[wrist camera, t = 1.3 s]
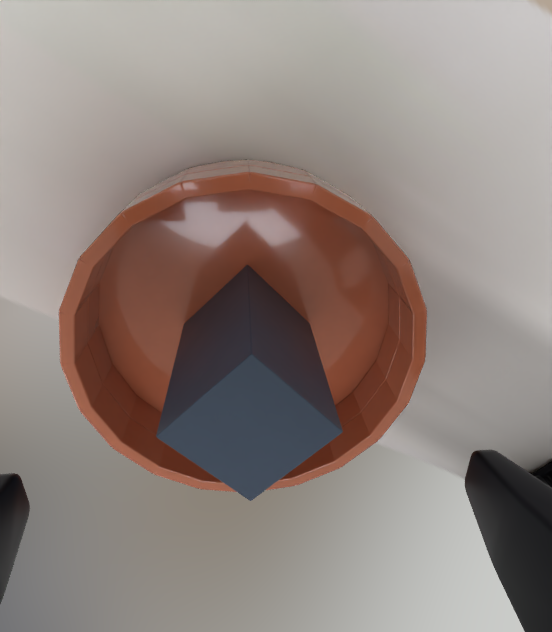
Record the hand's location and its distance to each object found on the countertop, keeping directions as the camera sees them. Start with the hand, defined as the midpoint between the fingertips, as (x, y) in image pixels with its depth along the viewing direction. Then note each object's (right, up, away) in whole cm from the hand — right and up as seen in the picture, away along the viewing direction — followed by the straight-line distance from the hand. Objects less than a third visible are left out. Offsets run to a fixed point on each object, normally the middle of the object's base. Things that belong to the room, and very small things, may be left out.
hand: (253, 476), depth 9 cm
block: (-1, +3, +13) cm, 13 cm away
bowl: (-1, +3, +13) cm, 14 cm away
